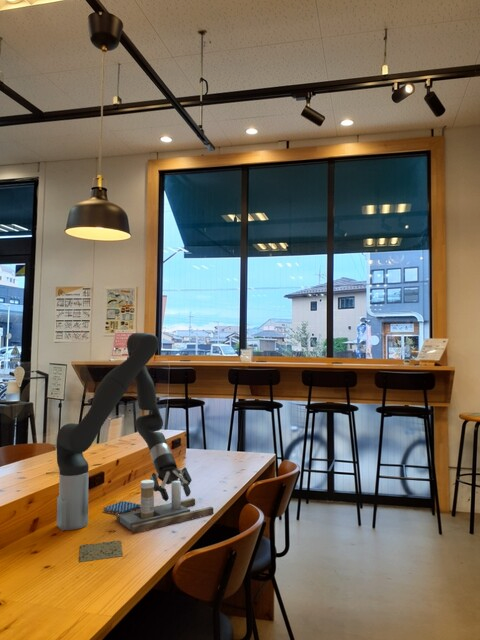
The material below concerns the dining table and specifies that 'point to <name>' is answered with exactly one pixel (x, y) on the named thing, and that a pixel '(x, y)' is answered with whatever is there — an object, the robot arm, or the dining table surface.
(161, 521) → the guide rails
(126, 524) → the grey tray with post
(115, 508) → the woven mat
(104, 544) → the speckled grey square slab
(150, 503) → the sprinkles bottle
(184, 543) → the dining table surface
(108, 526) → the dining table surface
